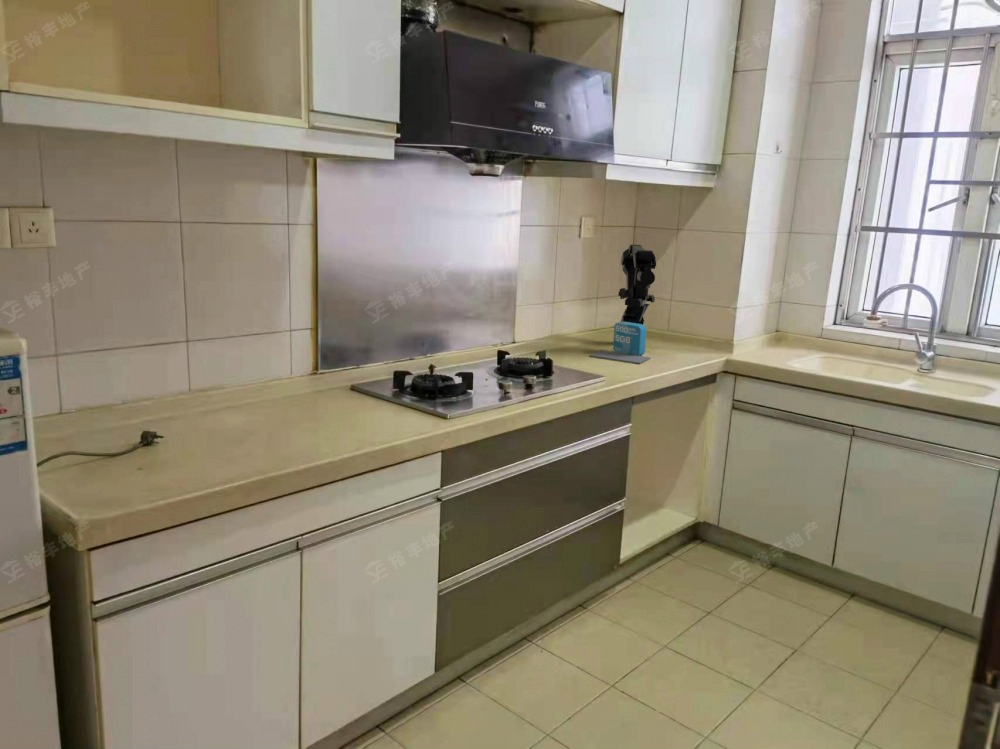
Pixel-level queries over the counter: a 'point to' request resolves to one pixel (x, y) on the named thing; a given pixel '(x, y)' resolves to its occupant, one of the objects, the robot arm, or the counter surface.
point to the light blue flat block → (629, 338)
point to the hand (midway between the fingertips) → (638, 321)
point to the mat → (620, 357)
